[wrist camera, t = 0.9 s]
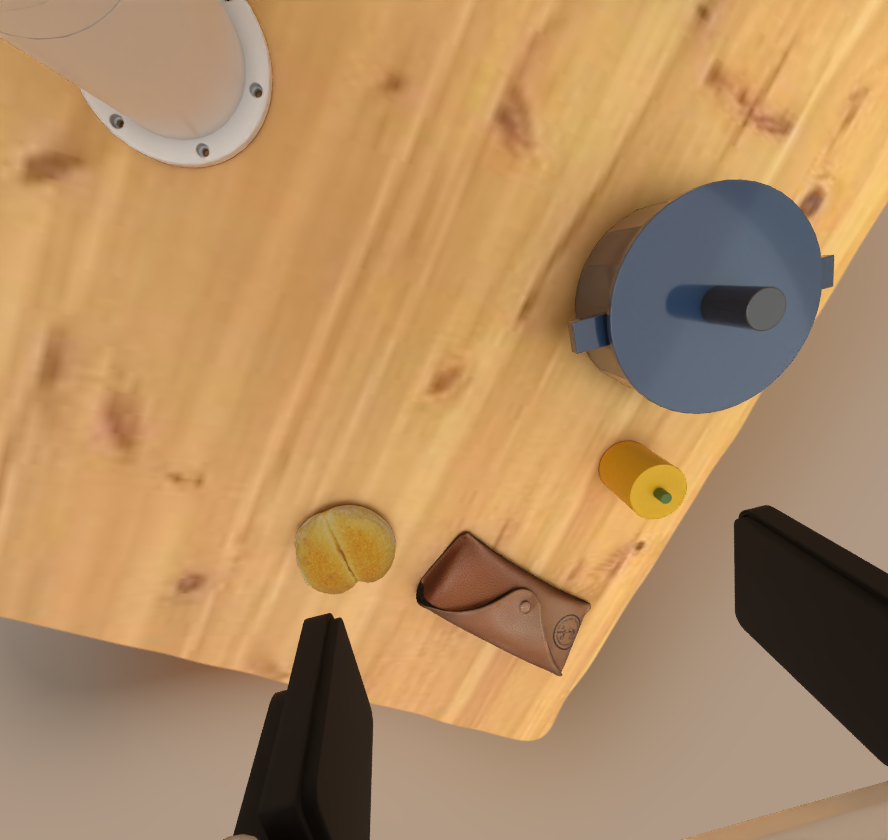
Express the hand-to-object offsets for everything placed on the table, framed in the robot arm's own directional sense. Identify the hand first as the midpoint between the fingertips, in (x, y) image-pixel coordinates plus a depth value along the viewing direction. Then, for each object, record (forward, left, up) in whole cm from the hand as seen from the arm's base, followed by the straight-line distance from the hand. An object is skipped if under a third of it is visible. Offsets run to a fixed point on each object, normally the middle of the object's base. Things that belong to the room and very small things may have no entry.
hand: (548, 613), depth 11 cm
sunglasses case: (+26, +2, -32) cm, 41 cm away
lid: (0, +22, -24) cm, 32 cm away
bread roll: (+15, -11, -32) cm, 37 cm away
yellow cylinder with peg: (+15, +17, -31) cm, 38 cm away
